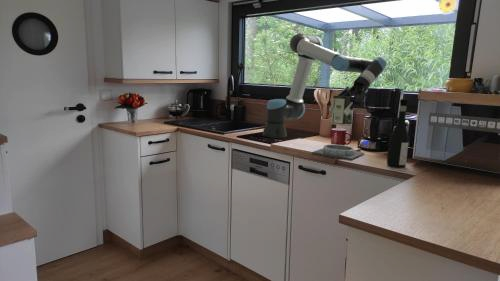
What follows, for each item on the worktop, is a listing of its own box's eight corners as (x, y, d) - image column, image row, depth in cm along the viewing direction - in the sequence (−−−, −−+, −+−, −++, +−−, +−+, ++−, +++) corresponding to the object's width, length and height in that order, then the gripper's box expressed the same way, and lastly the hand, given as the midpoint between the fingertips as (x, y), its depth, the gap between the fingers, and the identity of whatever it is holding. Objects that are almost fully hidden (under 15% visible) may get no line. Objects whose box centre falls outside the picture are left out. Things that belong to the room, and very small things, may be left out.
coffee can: (351, 123, 186) (353, 96, 183) (352, 126, 176) (355, 97, 173) (330, 122, 188) (332, 95, 185) (330, 124, 178) (333, 95, 175)
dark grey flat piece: (327, 148, 198) (327, 142, 197) (364, 154, 187) (364, 147, 186) (312, 153, 181) (312, 147, 181) (351, 160, 170) (352, 153, 170)
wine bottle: (407, 166, 165) (415, 99, 160) (403, 169, 158) (412, 100, 153) (388, 163, 169) (396, 98, 164) (384, 165, 163) (392, 98, 158)
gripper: (384, 87, 176) (357, 120, 171) (351, 85, 196) (326, 115, 191) (378, 76, 173) (350, 109, 168) (344, 75, 192) (319, 105, 187)
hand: (337, 112), depth 179 cm, fingers closed on coffee can, 10 cm apart
